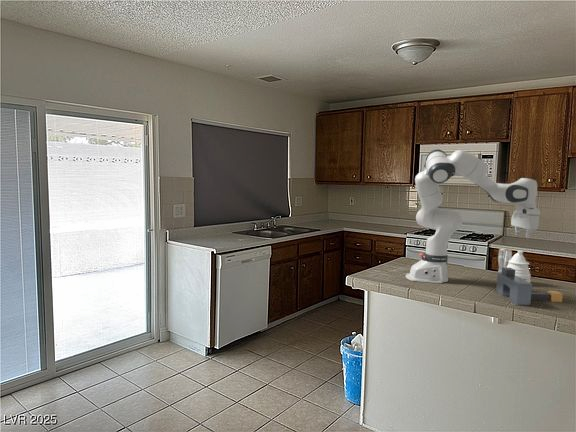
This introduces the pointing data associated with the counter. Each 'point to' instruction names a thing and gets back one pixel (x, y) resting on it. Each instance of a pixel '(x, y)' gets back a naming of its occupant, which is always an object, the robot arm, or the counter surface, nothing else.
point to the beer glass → (504, 258)
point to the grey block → (513, 287)
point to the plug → (548, 296)
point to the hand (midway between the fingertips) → (522, 236)
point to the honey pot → (520, 266)
